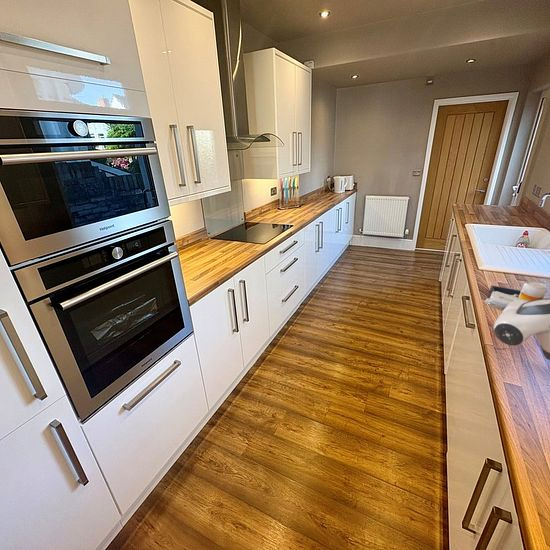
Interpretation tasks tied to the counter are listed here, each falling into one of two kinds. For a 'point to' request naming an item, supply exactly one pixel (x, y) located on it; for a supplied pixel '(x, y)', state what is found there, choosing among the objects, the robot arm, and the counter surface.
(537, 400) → the counter surface
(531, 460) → the counter surface
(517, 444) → the counter surface
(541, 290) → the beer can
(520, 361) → the counter surface
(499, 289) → the tray
